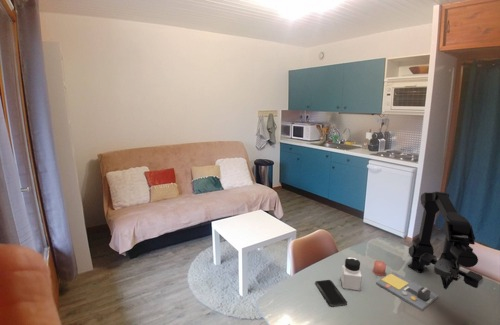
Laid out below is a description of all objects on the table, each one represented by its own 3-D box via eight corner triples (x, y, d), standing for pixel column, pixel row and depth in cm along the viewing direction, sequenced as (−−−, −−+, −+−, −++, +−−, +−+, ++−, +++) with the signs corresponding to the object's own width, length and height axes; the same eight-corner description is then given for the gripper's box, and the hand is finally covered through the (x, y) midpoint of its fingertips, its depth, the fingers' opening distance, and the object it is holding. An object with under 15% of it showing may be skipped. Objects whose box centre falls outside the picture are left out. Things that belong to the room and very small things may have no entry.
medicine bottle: (360, 291, 114) (363, 265, 112) (342, 288, 116) (345, 263, 113) (357, 280, 121) (359, 256, 119) (340, 278, 123) (343, 254, 120)
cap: (376, 268, 131) (378, 258, 130) (387, 273, 127) (388, 264, 125) (370, 271, 128) (371, 262, 127) (381, 277, 124) (382, 268, 123)
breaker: (421, 293, 112) (422, 285, 111) (429, 297, 109) (430, 289, 108) (417, 296, 110) (418, 288, 109) (425, 301, 107) (426, 293, 106)
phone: (329, 305, 105) (314, 281, 119) (329, 308, 105) (314, 283, 119) (348, 303, 106) (330, 279, 121) (348, 305, 106) (330, 281, 121)
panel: (392, 273, 127) (393, 270, 126) (438, 297, 111) (438, 293, 111) (375, 283, 119) (376, 280, 119) (421, 311, 104) (422, 307, 103)
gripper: (415, 246, 102) (409, 282, 105) (475, 271, 87) (466, 313, 90) (428, 239, 108) (423, 273, 112) (487, 261, 93) (478, 300, 96)
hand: (445, 288), depth 102 cm, fingers closed
